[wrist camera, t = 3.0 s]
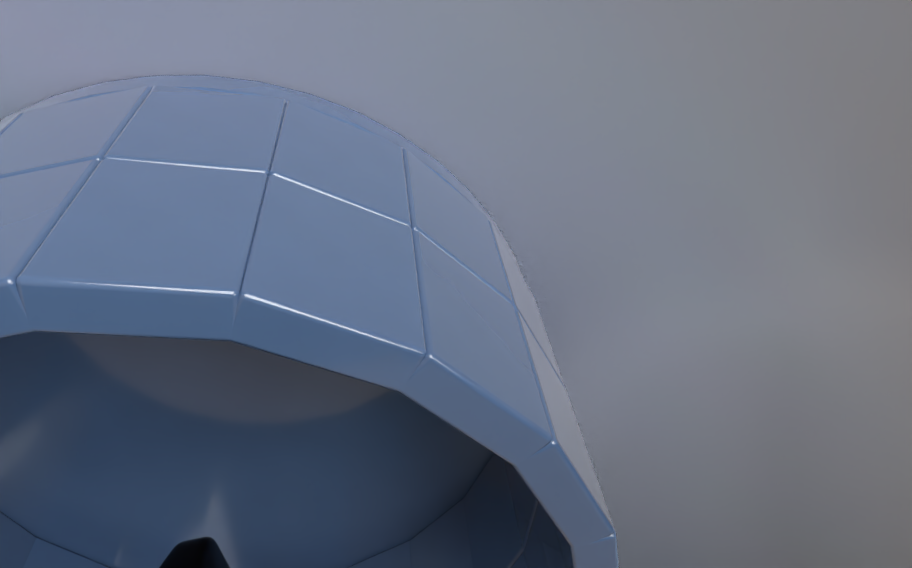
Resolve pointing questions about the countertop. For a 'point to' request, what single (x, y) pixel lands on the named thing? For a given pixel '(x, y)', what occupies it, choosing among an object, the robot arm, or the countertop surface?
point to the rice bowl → (269, 345)
